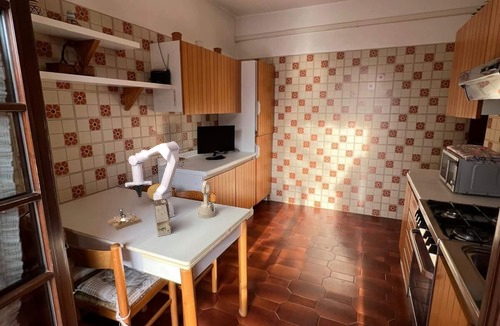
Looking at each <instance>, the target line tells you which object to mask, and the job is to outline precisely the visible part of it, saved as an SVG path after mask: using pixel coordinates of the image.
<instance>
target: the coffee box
mask: <svg viewBox="0 0 500 326" xmlns="http://www.w3.org/2000/svg"><path fill="white" fill-rule="evenodd" d="M153 203H154V217H155V226H156V233H157V237H163V236H168V235H171V233H172V230H171V220H170V218H171V217H170V216H169V204H168V201H167V199H159V200H153Z"/></svg>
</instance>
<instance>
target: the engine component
mask: <svg viewBox="0 0 500 326" xmlns="http://www.w3.org/2000/svg"><path fill="white" fill-rule="evenodd" d="M210 190H211V183H210V181H209V180H204V181H203V182H202V186H201V193H202V194H203V201H202V202H201V205H200V206H197V217H198V218H200V219H203V220H205V219H206V220H207V219H212V218H214V217H215V216H216V208H215V207H216V206H215V205H216V204H215V202H213V201H209V198H210V197H209V196H210V195H209V193H210Z"/></svg>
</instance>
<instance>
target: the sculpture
mask: <svg viewBox="0 0 500 326" xmlns="http://www.w3.org/2000/svg"><path fill="white" fill-rule="evenodd" d="M160 185H161V183H155V184H152V185H150V186H149V187H148V188H147V193H146V194H147V197H148V199H150V200H152V201H154V199H153V194H154V193H155V192H156V190H157V189H158V188H159V186H160Z"/></svg>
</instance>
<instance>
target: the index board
mask: <svg viewBox="0 0 500 326" xmlns="http://www.w3.org/2000/svg"><path fill="white" fill-rule="evenodd" d="M129 213H130V214H132V213H131V212H129ZM113 219H114V217H113V218H110V219H108V220H106V223H107V225H110V226H111V227H112V228H114V229H115V230H117V231H118V230H122V229H124V228H127V227H130V226H134V225H136V224H139V223H142V219H141V218H140V217H139V216H136V215H134V219H133V220H130V221H128V222H127V223H126V222H123V223H120V219H118V222H113ZM118 223H119V224H118Z"/></svg>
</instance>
